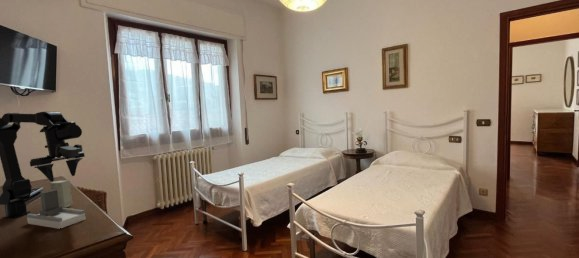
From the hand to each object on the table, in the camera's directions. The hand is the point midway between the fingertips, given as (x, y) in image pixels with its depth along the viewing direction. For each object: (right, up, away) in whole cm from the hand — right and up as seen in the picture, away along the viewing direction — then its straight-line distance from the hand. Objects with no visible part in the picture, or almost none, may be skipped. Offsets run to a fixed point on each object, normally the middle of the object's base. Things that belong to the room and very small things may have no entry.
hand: (63, 178), depth 114 cm
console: (+2, -16, -5) cm, 17 cm away
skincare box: (-11, -16, +13) cm, 24 cm away
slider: (-1, -13, -4) cm, 14 cm away
